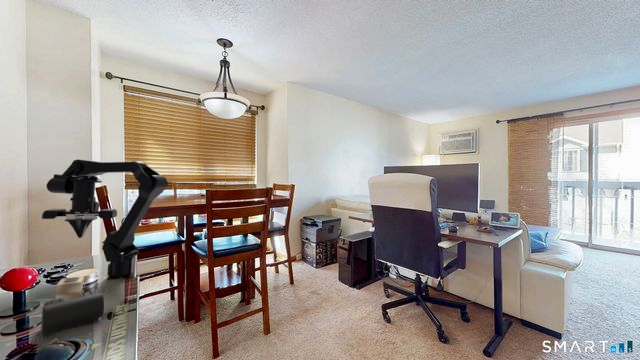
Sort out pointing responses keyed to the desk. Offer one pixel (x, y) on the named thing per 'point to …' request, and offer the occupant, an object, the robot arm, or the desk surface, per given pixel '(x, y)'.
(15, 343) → the desk surface
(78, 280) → the beech block
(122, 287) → the desk surface
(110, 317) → the desk surface
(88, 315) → the end cap
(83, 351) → the desk surface
